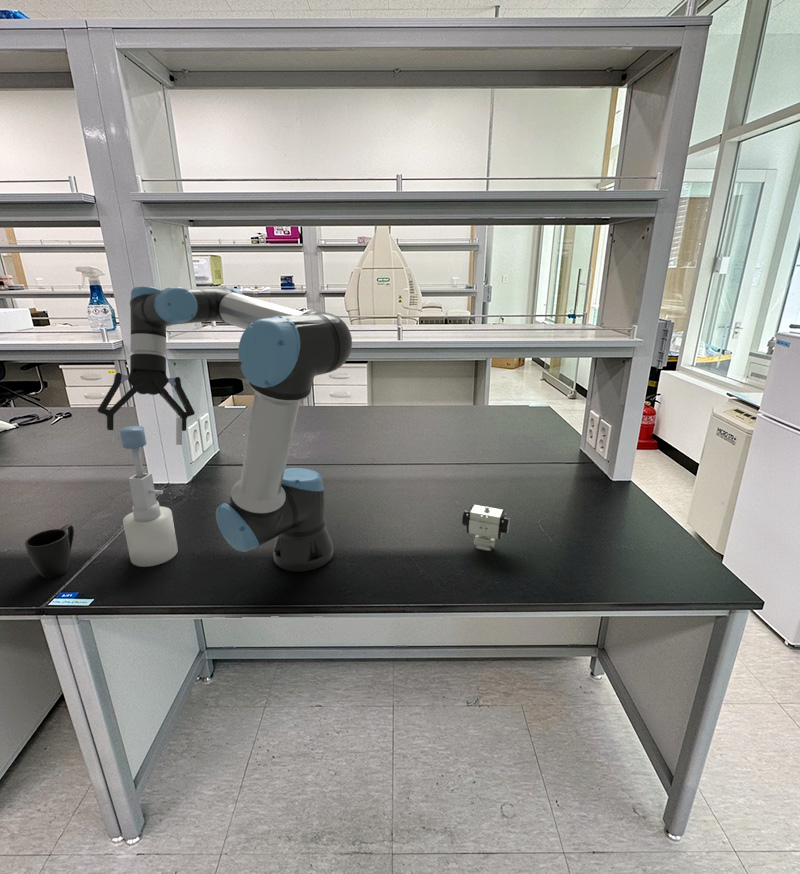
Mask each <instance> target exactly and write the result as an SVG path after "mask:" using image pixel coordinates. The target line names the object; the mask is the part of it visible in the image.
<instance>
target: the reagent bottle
mask: <svg viewBox="0 0 800 874" xmlns="http://www.w3.org/2000/svg"><path fill="white" fill-rule="evenodd" d="M143 473H144V477H143V478H142V479H141V478H137V476H136V473H135V474H134V475H132V476H130V477H128V482H129V488H130V492H131V498H132V503H133V505H132V507H131V509H132V512H130V513H128V514H126V515H125V516H124V518H123V519H122V524H123V529H124V534H125V539H126V544H127V549H128V555H129V559H130V562H131V564H133V566H137V567H141V568H142V567H144V568H146V567H154V566H158V565H160V564H164V563H167V562H168V561H170V560H172V559H173V558H175V556H177V554H178V551H179V549H178V548H179V547H178V541H177V536H176V531H175V525H174V517H173V512H172V510H171V508H169V507H167V506H161V505H160V503H159V501H158V500H157V497H156V495H163V493H164V491H163V490H162V489H155V485H154V478H153V473H146V472H143Z"/></svg>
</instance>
